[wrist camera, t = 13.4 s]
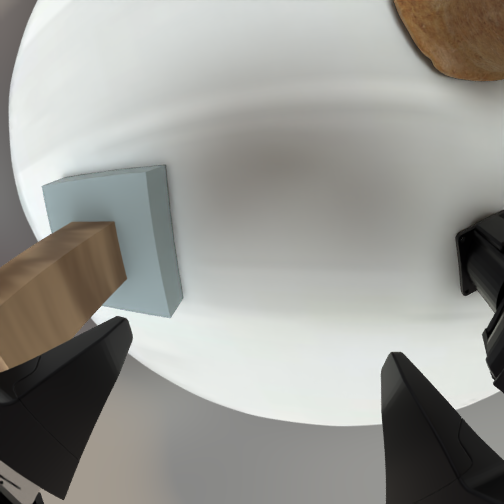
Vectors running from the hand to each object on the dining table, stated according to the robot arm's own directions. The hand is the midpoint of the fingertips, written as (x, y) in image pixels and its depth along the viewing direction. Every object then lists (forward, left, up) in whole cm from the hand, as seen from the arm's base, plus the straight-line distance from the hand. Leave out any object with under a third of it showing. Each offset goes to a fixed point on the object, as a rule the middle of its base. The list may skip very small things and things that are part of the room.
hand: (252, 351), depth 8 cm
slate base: (+5, +14, -13) cm, 20 cm away
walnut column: (+5, +14, -10) cm, 18 cm away
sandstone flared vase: (+8, -22, -13) cm, 27 cm away
